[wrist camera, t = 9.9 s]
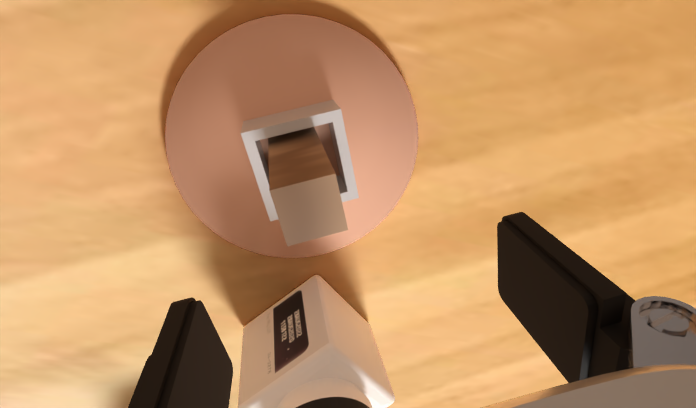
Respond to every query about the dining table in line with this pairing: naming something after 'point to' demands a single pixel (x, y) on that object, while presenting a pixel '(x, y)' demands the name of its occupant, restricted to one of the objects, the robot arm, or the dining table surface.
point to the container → (312, 355)
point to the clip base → (289, 127)
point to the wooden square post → (304, 187)
